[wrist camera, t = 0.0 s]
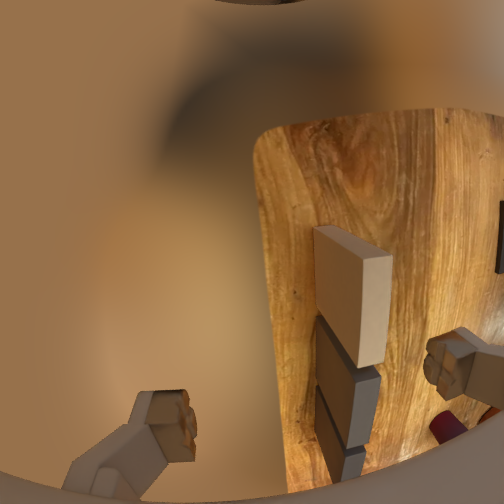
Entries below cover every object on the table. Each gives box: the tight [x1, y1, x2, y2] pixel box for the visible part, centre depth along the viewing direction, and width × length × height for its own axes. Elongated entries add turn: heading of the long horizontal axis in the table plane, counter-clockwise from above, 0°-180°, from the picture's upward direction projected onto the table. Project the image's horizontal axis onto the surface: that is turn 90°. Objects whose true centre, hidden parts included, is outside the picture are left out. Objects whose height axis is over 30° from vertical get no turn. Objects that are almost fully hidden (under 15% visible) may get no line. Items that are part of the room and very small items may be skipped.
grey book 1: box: [316, 316, 381, 449], centre depth 30 cm, size 9×2×13 cm, turn 5°
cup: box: [430, 411, 468, 445], centre depth 36 cm, size 7×7×15 cm
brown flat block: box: [313, 225, 393, 368], centre depth 27 cm, size 9×2×13 cm, turn 5°
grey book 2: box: [314, 386, 367, 484], centre depth 33 cm, size 9×2×13 cm, turn 5°
